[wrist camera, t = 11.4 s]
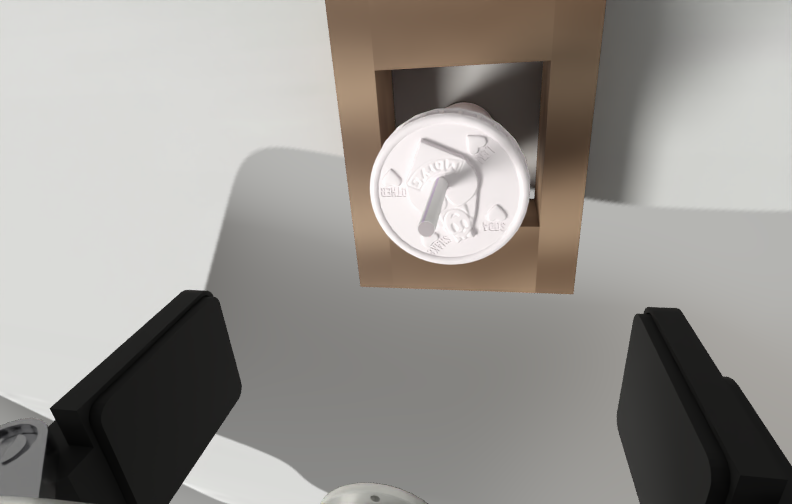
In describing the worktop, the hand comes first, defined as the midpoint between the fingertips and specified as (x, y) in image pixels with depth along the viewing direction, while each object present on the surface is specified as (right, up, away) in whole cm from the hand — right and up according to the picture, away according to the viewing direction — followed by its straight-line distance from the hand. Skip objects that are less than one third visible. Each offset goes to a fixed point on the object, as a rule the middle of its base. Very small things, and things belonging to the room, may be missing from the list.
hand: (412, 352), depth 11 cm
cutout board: (+4, +9, +16) cm, 19 cm away
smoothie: (+3, +9, +17) cm, 19 cm away
